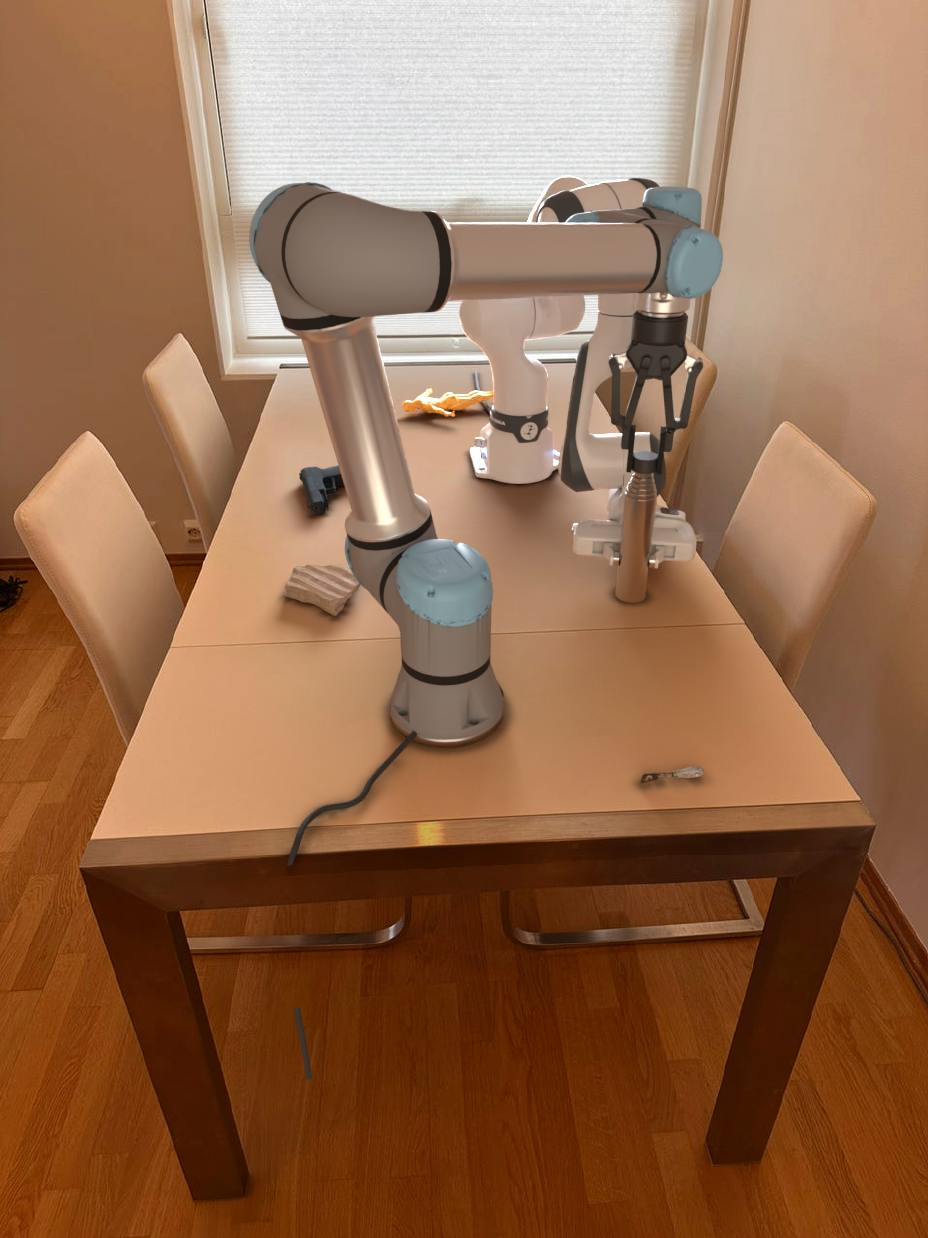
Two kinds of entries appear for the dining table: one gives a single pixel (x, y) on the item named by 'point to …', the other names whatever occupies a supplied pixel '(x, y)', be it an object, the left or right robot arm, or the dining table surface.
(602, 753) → the dining table surface
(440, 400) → the human figure
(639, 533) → the bottle
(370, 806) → the dining table surface
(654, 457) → the cap
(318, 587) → the stone
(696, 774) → the putty knife
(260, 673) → the dining table surface
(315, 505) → the handgun
